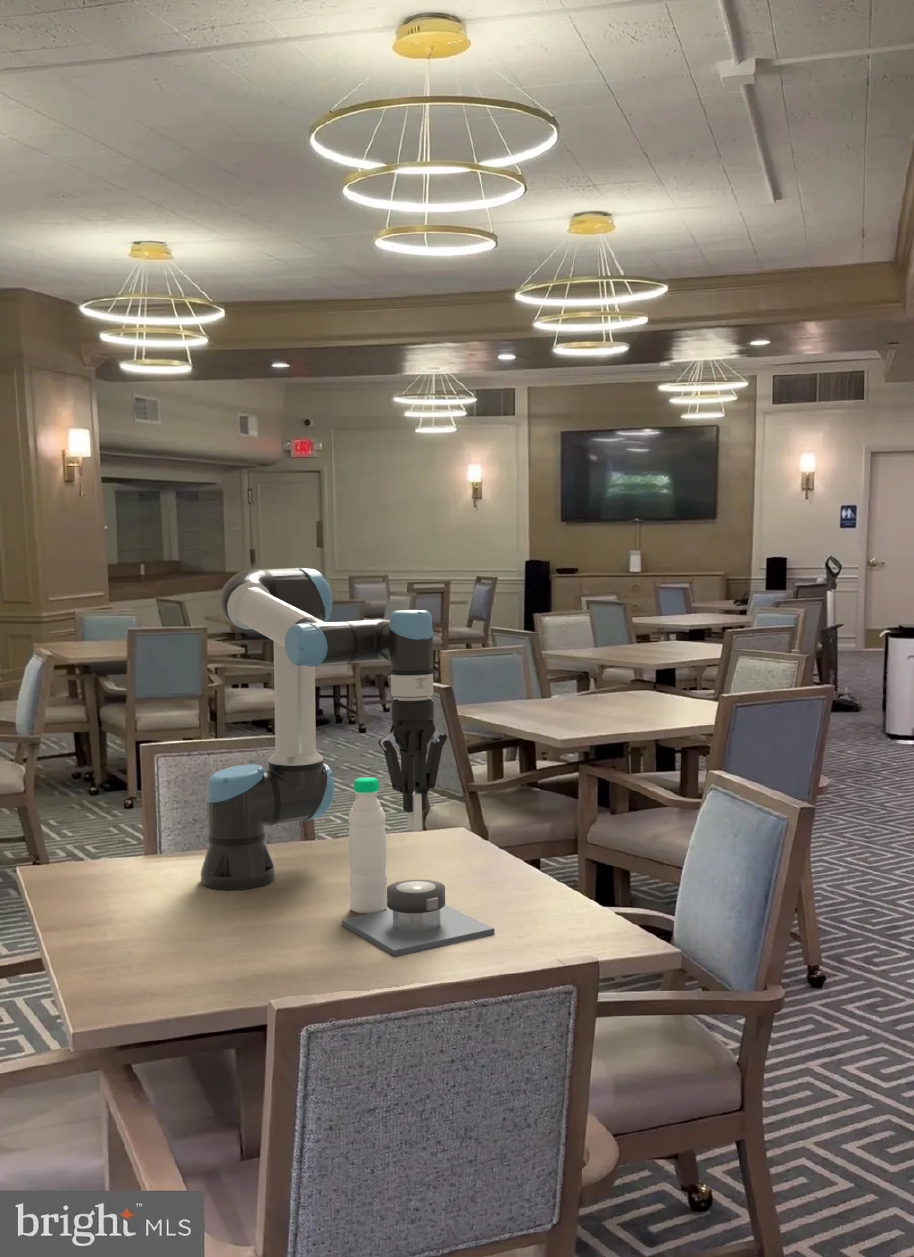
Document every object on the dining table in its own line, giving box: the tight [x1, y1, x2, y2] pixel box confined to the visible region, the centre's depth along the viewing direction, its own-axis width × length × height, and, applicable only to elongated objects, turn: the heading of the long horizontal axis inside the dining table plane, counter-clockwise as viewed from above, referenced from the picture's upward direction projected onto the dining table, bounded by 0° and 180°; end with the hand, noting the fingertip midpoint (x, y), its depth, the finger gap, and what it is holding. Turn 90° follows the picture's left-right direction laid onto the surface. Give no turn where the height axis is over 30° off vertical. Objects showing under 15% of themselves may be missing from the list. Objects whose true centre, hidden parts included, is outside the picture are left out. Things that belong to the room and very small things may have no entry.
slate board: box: [341, 904, 495, 957], centre depth 203 cm, size 20×20×1 cm
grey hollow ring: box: [393, 909, 440, 932], centre depth 203 cm, size 8×8×4 cm
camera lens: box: [386, 879, 446, 913], centre depth 203 cm, size 12×10×6 cm
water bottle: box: [347, 776, 388, 915], centre depth 215 cm, size 7×7×25 cm
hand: (414, 829), depth 202 cm, fingers closed
